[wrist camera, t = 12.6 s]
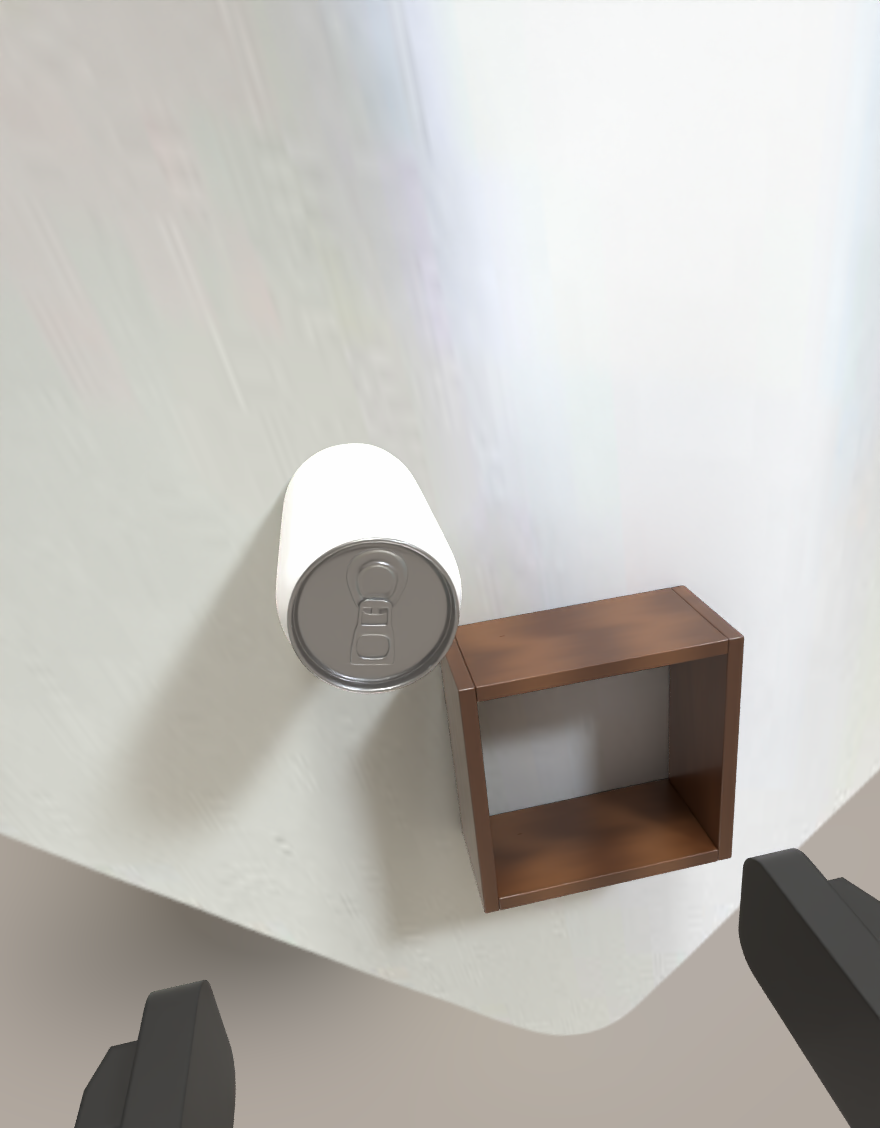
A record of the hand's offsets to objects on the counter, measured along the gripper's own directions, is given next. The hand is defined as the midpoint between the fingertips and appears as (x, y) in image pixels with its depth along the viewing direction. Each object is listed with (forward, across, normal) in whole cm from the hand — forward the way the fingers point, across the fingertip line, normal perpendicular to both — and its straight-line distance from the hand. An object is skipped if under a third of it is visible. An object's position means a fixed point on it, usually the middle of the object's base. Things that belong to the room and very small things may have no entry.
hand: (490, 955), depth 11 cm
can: (+26, 0, +1) cm, 26 cm away
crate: (+26, -10, +15) cm, 31 cm away
